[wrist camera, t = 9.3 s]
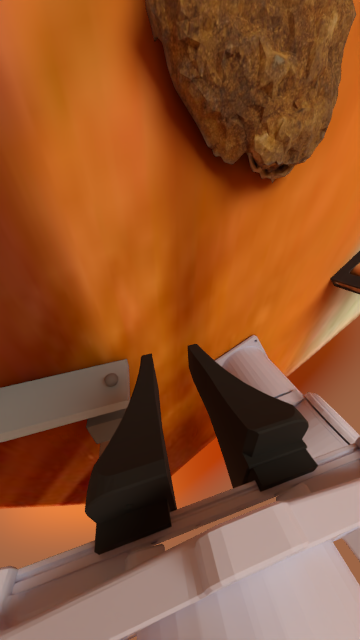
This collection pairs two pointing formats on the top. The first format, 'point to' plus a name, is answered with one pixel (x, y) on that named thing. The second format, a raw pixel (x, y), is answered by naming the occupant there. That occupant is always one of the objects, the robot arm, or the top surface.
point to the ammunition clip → (349, 275)
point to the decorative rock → (256, 73)
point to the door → (63, 399)
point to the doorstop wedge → (104, 425)
